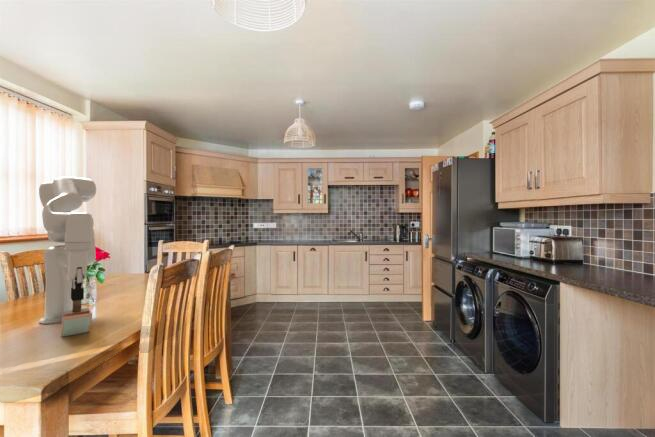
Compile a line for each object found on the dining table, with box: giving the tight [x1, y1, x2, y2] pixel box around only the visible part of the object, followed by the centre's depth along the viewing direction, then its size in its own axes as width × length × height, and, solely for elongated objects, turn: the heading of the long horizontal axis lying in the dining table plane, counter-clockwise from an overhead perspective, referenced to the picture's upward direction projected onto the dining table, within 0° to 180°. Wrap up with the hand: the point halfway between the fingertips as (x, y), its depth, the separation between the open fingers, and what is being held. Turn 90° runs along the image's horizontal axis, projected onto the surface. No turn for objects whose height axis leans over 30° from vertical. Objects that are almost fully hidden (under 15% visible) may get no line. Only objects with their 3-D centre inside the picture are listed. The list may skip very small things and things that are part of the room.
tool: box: [63, 278, 91, 317], centre depth 111 cm, size 4×7×14 cm, turn 133°
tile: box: [60, 312, 93, 337], centre depth 110 cm, size 1×8×10 cm
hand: (77, 298), depth 111 cm, fingers closed on tool, 2 cm apart
